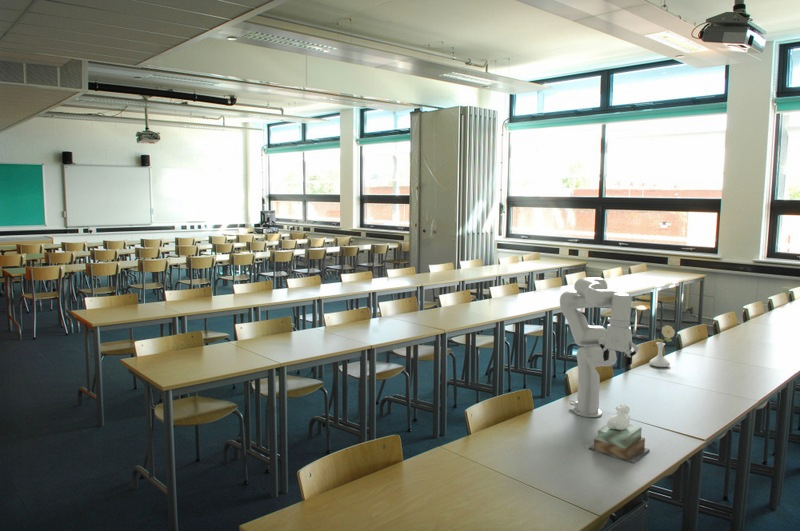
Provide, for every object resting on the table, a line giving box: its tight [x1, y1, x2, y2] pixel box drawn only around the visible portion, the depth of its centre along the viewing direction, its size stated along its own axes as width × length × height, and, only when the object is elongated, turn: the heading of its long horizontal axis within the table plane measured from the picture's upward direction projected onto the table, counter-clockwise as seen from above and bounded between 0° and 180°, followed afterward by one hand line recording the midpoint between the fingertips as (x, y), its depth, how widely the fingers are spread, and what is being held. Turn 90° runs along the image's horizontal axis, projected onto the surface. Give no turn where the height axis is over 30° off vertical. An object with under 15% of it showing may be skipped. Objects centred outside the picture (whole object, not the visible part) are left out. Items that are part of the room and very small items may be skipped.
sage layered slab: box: [588, 423, 650, 464], centre depth 230 cm, size 18×15×9 cm
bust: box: [606, 403, 631, 430], centre depth 229 cm, size 12×8×11 cm
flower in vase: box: [649, 324, 676, 368], centre depth 346 cm, size 13×11×25 cm
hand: (617, 362), depth 244 cm, fingers open, 9 cm apart
